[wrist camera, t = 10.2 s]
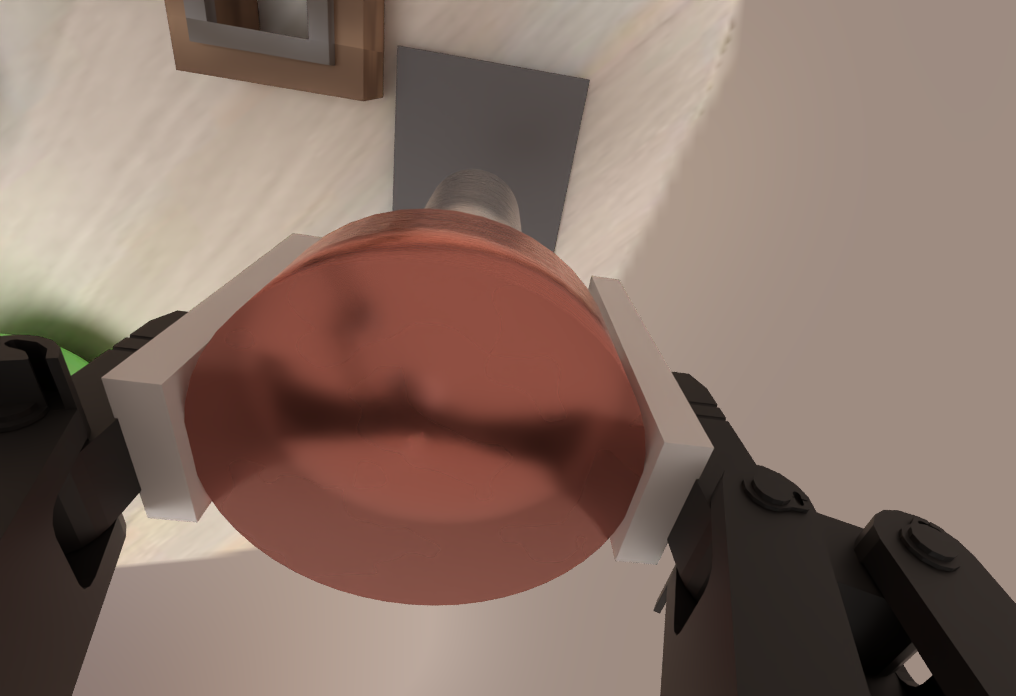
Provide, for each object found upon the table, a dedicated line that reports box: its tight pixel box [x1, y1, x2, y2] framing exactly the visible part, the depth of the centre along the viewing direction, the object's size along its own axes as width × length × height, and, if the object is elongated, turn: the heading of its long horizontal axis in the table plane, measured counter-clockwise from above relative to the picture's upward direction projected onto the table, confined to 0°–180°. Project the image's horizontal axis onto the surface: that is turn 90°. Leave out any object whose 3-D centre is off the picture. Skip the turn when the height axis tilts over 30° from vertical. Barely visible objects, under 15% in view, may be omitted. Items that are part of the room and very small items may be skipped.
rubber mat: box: [393, 46, 590, 253], centre depth 32 cm, size 12×12×1 cm
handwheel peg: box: [184, 169, 646, 605], centre depth 14 cm, size 7×7×16 cm
